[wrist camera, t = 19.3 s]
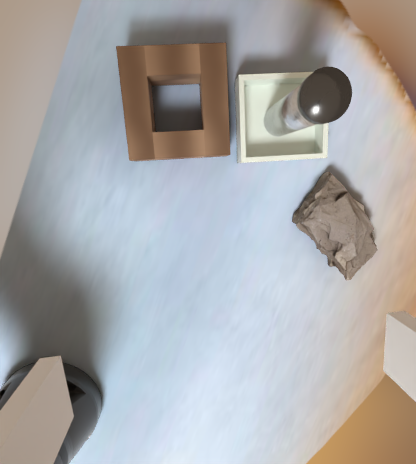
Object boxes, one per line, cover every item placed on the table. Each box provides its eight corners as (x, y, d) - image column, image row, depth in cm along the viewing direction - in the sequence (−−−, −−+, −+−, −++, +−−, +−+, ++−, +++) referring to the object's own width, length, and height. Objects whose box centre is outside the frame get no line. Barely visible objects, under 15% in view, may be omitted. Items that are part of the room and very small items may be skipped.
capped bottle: (262, 139, 37) (300, 124, 24) (262, 103, 36) (301, 67, 23) (295, 137, 37) (350, 121, 25) (295, 101, 36) (353, 65, 24)
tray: (237, 163, 38) (241, 162, 35) (234, 82, 36) (238, 74, 33) (316, 158, 39) (327, 157, 36) (318, 78, 36) (330, 70, 33)
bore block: (135, 161, 37) (129, 160, 33) (124, 60, 34) (116, 46, 30) (225, 156, 38) (230, 154, 34) (221, 56, 35) (225, 42, 31)
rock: (383, 234, 42) (402, 240, 38) (336, 275, 43) (351, 285, 39) (328, 167, 39) (343, 166, 36) (279, 212, 40) (289, 217, 36)
